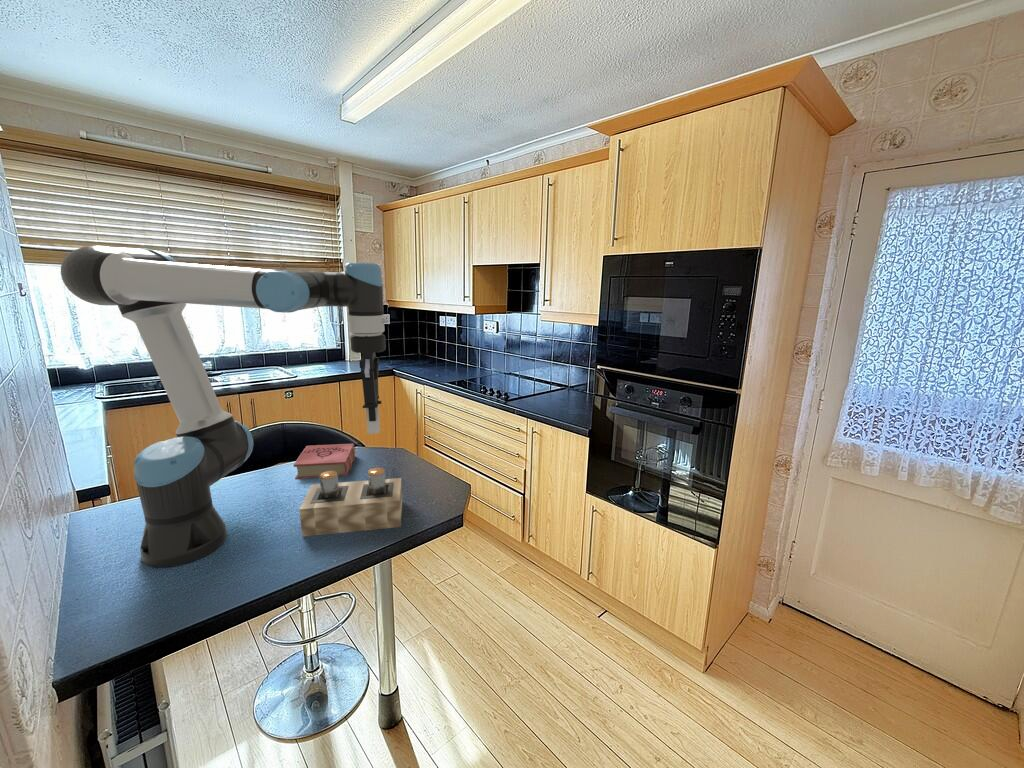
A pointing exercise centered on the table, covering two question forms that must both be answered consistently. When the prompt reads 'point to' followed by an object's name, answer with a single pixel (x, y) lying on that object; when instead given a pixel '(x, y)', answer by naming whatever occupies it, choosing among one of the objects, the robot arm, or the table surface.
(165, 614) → the table surface
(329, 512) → the block
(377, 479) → the peg right
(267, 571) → the table surface
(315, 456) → the book
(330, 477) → the peg left
